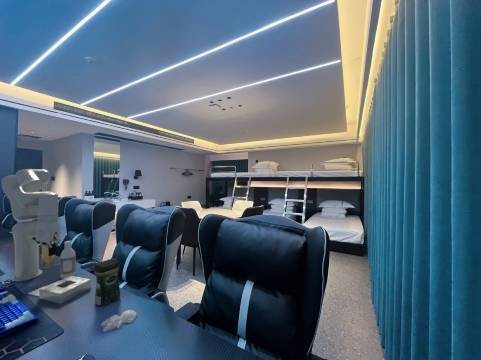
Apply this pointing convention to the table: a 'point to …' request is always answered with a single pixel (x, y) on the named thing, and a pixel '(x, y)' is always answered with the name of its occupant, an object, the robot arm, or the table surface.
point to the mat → (36, 292)
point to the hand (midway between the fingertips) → (48, 254)
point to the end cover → (47, 255)
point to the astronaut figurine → (119, 320)
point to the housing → (64, 289)
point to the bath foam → (67, 261)
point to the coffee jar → (107, 282)
